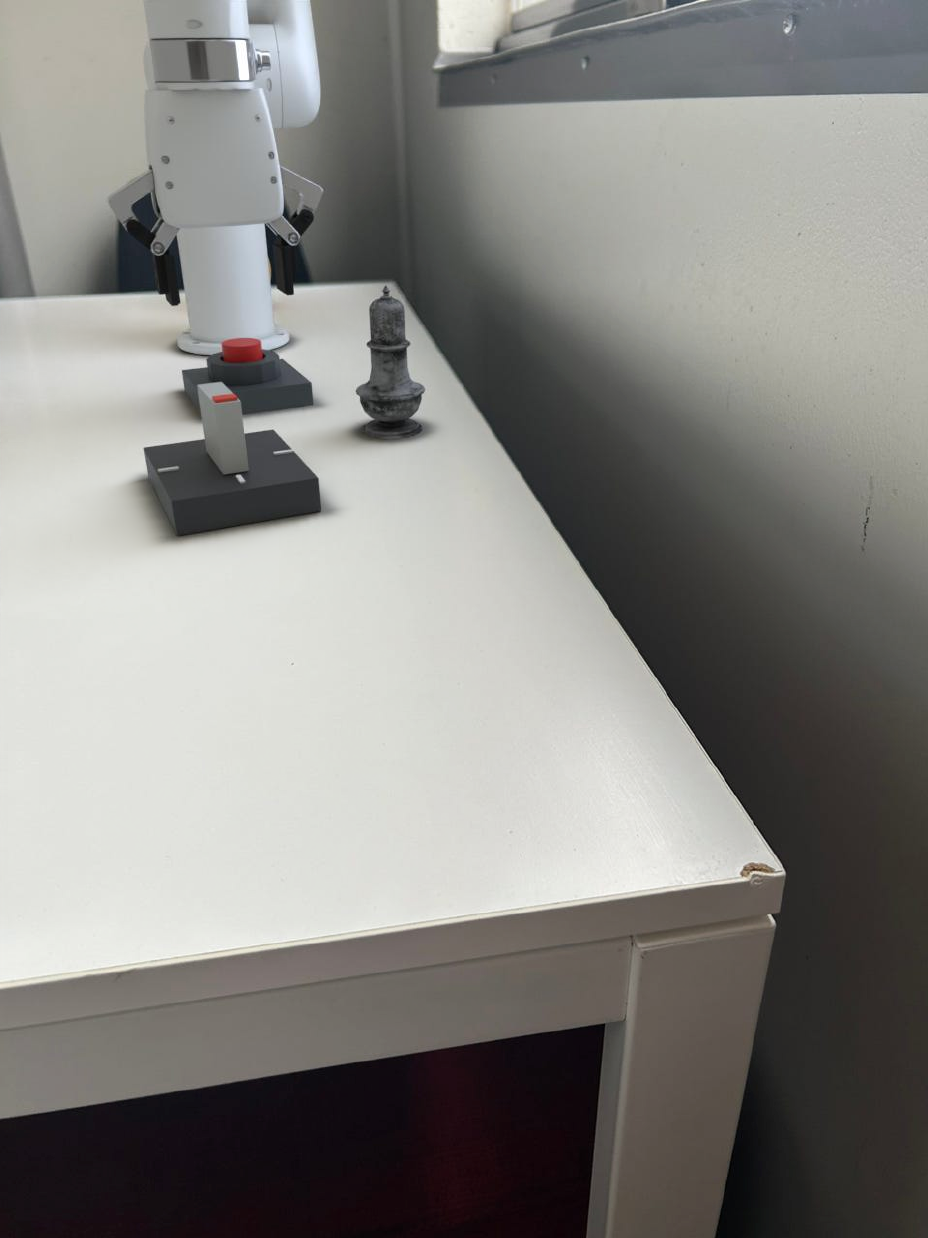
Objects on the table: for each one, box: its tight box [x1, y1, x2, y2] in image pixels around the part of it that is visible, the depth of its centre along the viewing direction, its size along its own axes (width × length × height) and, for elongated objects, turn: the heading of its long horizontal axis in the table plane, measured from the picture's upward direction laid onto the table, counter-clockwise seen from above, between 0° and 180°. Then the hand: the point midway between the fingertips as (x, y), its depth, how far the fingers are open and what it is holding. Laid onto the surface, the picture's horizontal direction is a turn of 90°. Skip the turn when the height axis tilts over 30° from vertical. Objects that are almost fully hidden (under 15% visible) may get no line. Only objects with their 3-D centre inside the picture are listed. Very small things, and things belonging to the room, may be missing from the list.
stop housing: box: [181, 349, 314, 416], centre depth 93 cm, size 10×10×4 cm
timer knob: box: [197, 382, 249, 475], centre depth 70 cm, size 6×2×5 cm, turn 25°
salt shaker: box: [355, 285, 426, 440], centre depth 82 cm, size 6×6×12 cm
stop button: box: [222, 338, 263, 363], centre depth 92 cm, size 4×4×2 cm
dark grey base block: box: [143, 429, 322, 537], centre depth 72 cm, size 12×10×3 cm
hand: (230, 297), depth 84 cm, fingers open, 9 cm apart
